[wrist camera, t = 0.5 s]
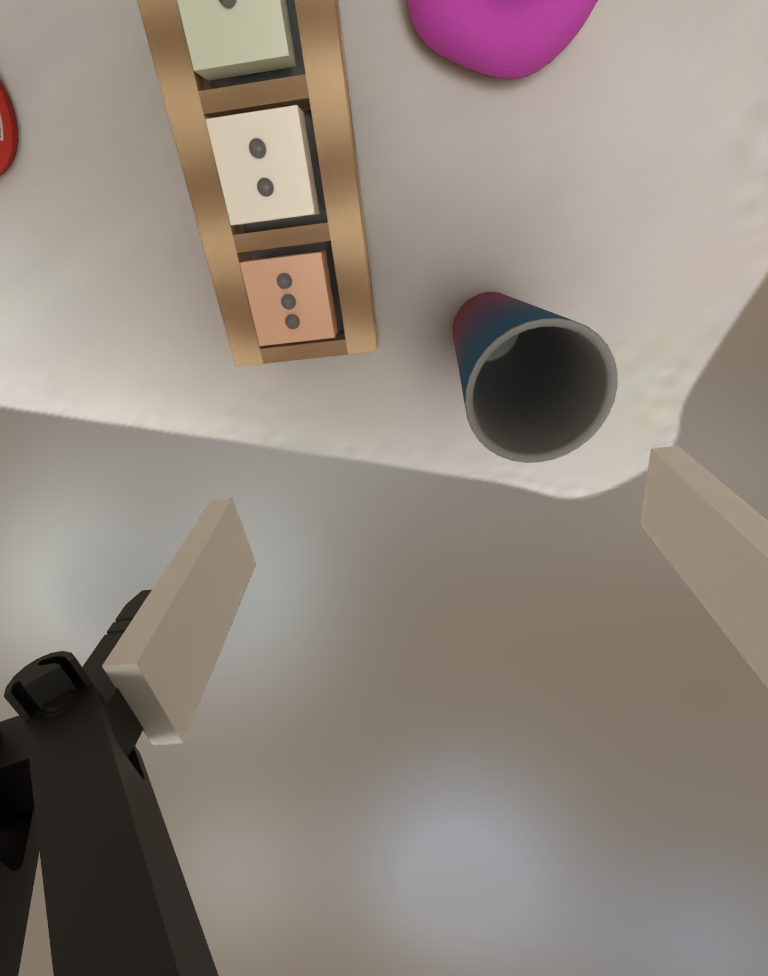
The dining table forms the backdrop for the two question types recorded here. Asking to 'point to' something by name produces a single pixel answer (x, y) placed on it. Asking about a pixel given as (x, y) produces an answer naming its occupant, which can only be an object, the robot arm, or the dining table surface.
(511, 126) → the dining table surface
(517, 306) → the cup
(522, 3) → the donut
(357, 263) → the panel
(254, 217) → the button
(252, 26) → the button
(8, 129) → the canned food
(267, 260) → the button
